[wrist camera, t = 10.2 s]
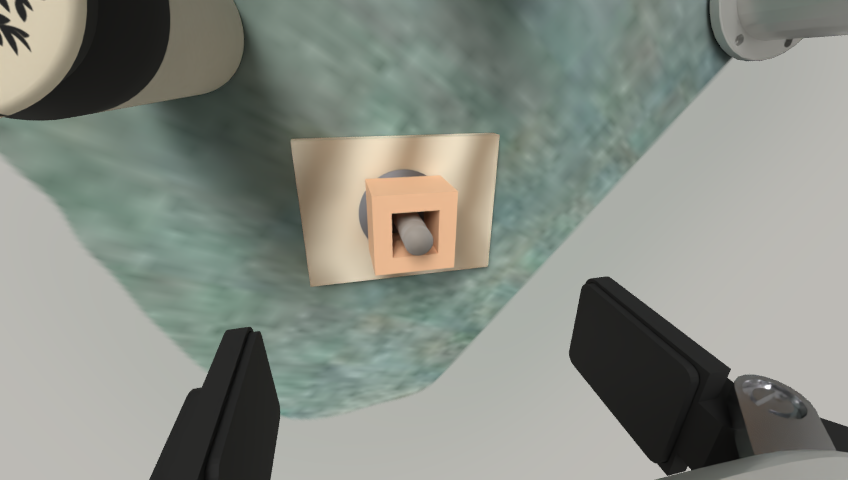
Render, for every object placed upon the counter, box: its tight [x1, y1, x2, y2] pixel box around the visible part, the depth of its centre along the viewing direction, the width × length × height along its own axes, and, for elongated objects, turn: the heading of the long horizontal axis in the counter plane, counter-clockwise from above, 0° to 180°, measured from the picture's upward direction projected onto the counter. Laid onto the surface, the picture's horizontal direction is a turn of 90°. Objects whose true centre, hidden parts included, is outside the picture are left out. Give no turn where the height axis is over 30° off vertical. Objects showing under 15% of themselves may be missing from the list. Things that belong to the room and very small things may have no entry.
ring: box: [365, 175, 458, 276], centre depth 28 cm, size 6×6×4 cm
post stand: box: [290, 133, 500, 287], centre depth 28 cm, size 16×12×7 cm
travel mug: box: [0, 0, 244, 120], centre depth 15 cm, size 8×8×18 cm
